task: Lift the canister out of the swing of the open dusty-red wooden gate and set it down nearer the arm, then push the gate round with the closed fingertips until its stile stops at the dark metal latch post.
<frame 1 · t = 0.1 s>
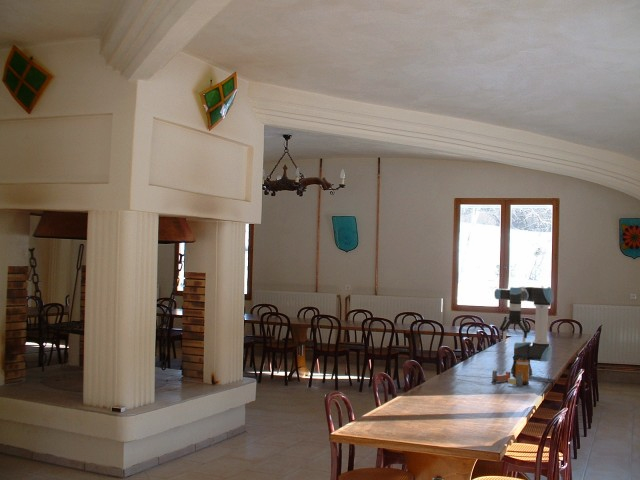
hand: (514, 342, 469), 28 cm above the table, fingers open, 13 cm apart
gate post: (494, 382, 470), on the table
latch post: (519, 386, 460), on the table
canister: (520, 384, 470), on the table
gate: (503, 376, 476), point 3 cm above the table, hinge at 75.0°
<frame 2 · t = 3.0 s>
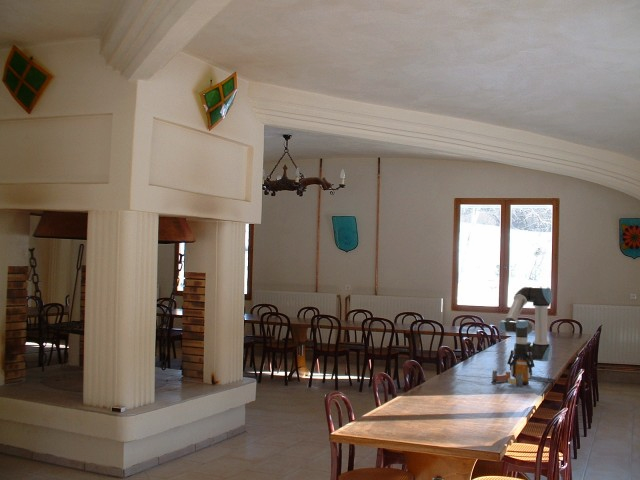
hand: (520, 376, 470), 5 cm above the table, fingers closed on canister, 11 cm apart
canister: (520, 384, 470), on the table, touching gripper
everything else where it was.
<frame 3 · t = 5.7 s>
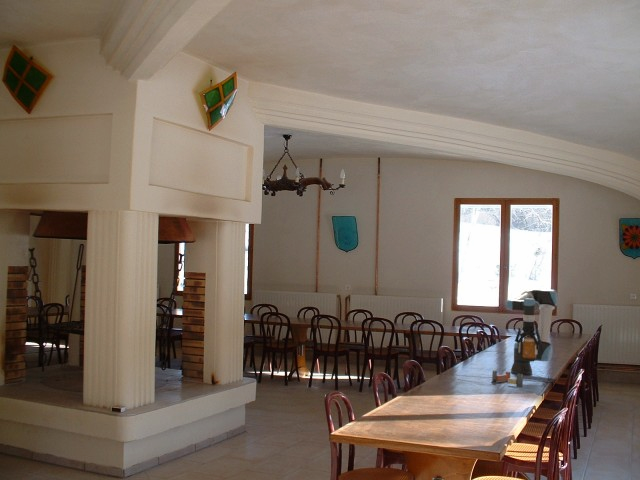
hand: (527, 353, 480), 19 cm above the table, fingers closed on canister, 11 cm apart
canister: (527, 361, 480), point 14 cm above the table, touching gripper
everything else where it was.
when the fingers open (6 cm above the table, at t = 8.6 s): canister stays where it is, on the table.
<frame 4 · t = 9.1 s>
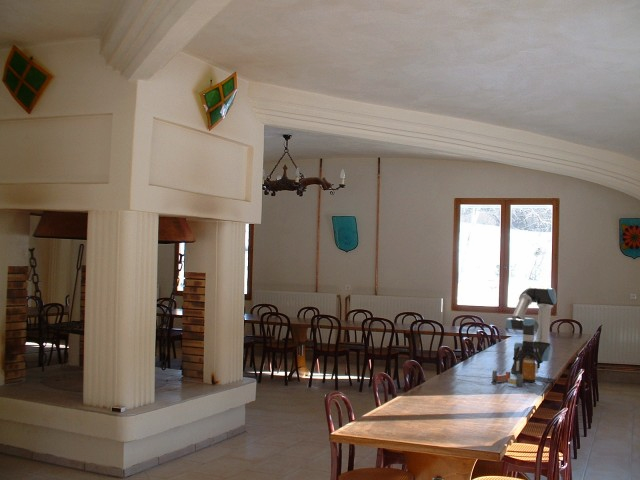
hand: (527, 371, 479), 7 cm above the table, fingers open, 13 cm apart
canister: (526, 382, 479), on the table
everything else where it was.
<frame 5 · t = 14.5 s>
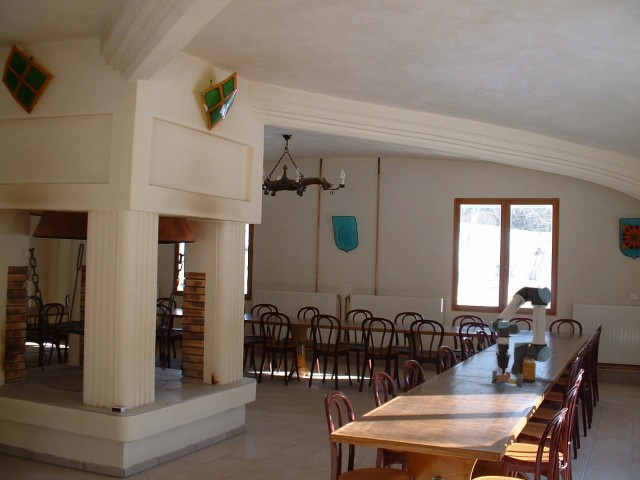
hand: (502, 378, 478), 2 cm above the table, fingers closed
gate: (503, 376, 476), point 3 cm above the table, hinge at 75.0°, touching gripper
everything else where it was.
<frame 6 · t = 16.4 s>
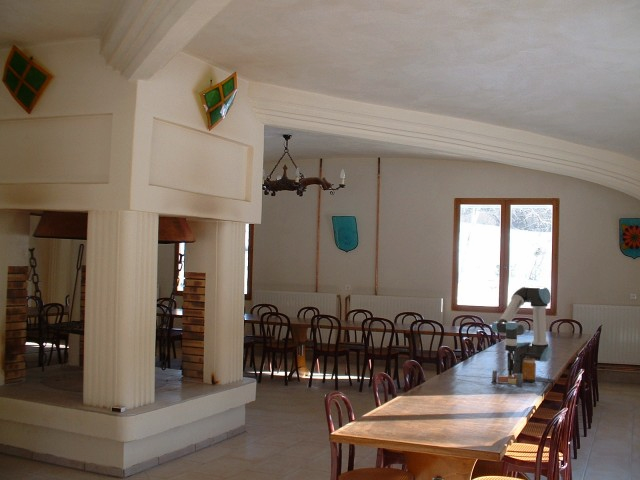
hand: (509, 379, 472), 2 cm above the table, fingers closed
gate: (507, 378, 470), point 3 cm above the table, hinge at 37.0°, touching gripper
everything else where it was.
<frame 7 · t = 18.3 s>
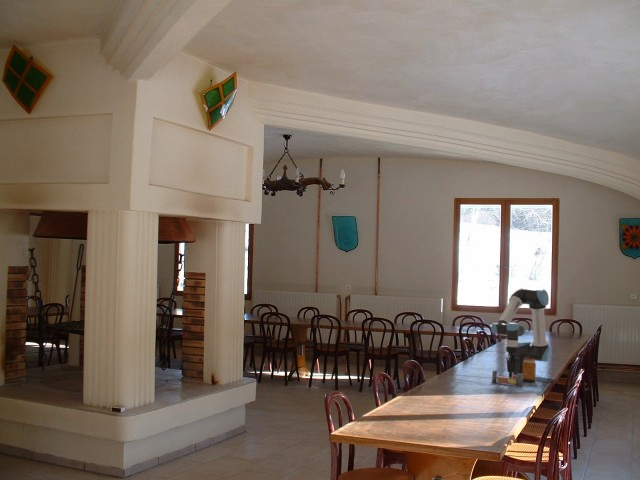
hand: (510, 381, 465), 2 cm above the table, fingers closed
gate: (507, 379, 465), point 3 cm above the table, hinge at 1.6°, touching gripper
everything else where it was.
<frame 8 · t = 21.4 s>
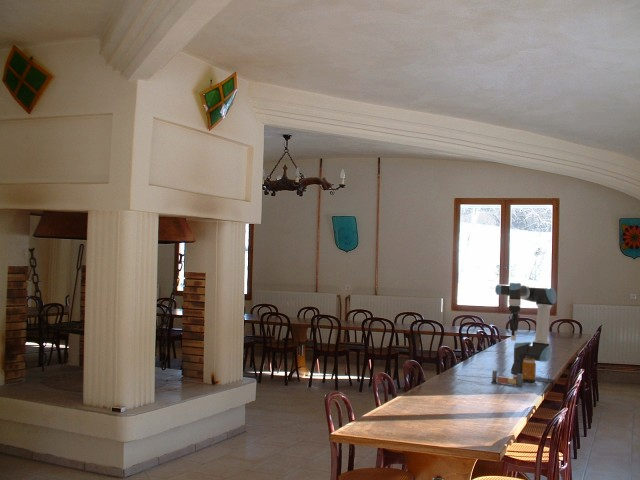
hand: (513, 340, 475), 28 cm above the table, fingers closed
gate: (507, 379, 465), point 3 cm above the table, hinge at 1.5°
everything else where it was.
at the end: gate at +2° (first picture: +75°); canister inside the target area (0.1 cm from its centre), on the table; canister tilted 0° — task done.
